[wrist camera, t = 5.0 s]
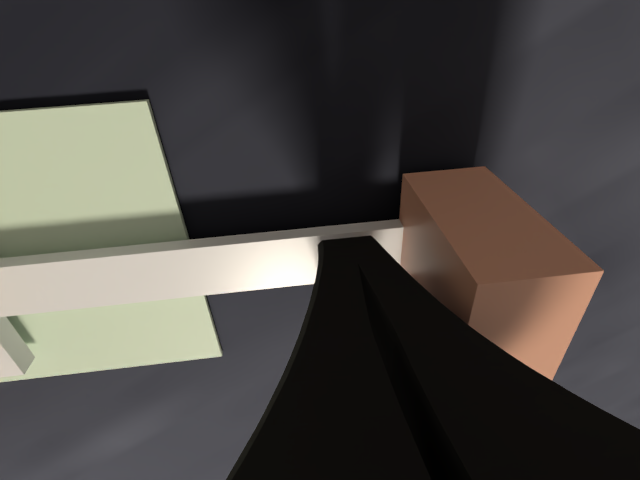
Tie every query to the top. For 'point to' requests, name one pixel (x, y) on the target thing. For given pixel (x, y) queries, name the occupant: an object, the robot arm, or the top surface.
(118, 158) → the pad
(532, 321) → the cream and orange bar
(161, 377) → the top surface
